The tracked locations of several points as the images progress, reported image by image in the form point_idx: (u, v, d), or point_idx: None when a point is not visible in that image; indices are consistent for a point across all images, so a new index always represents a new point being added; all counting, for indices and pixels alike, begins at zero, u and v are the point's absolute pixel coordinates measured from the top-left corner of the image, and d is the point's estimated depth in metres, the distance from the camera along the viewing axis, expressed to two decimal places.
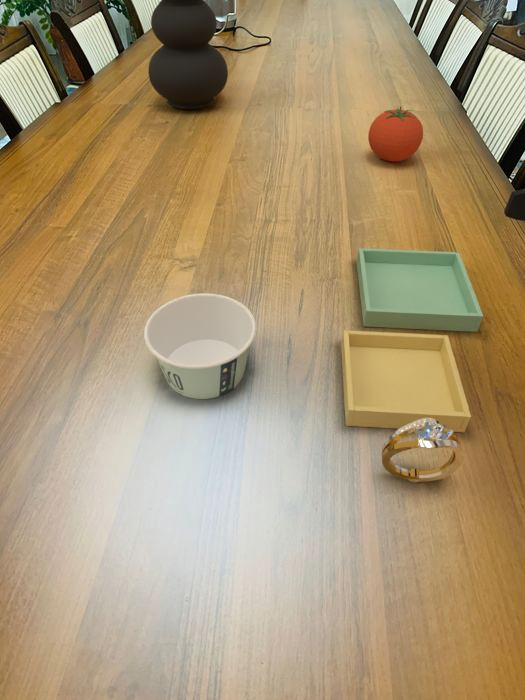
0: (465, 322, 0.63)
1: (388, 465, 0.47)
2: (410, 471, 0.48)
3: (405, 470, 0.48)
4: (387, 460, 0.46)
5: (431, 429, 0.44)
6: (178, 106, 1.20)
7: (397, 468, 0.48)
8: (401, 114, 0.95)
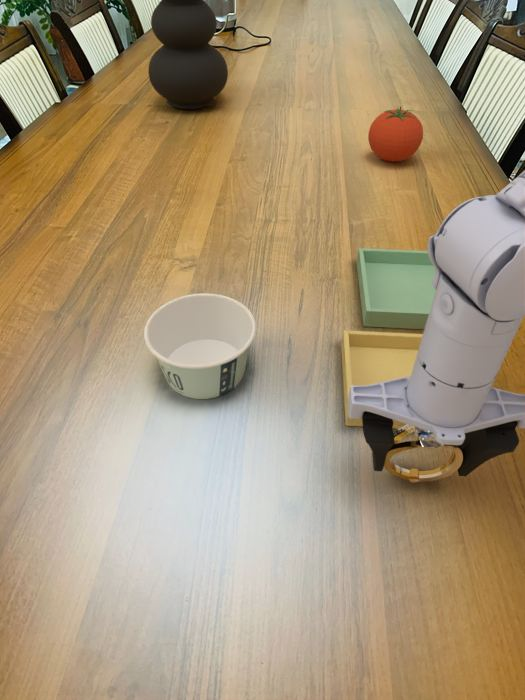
0: None
1: (388, 465, 0.47)
2: (410, 471, 0.48)
3: (405, 470, 0.48)
4: (387, 460, 0.46)
5: None
6: (178, 106, 1.20)
7: (398, 469, 0.48)
8: (401, 114, 0.95)
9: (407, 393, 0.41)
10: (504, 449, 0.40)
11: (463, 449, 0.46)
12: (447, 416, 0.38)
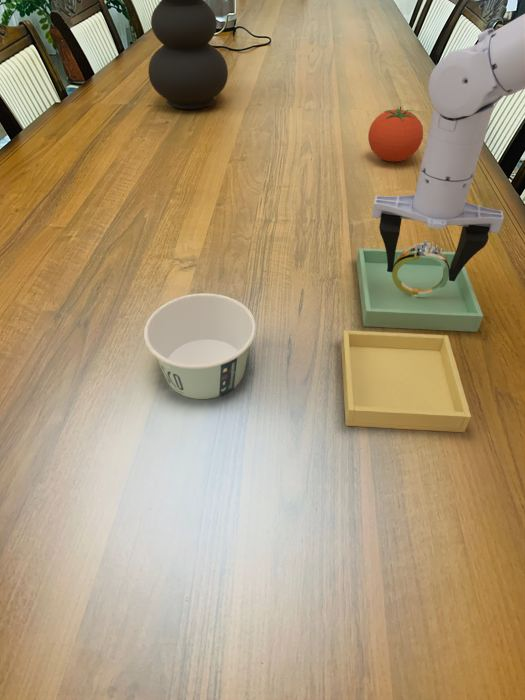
0: (465, 322, 0.63)
1: (396, 279, 0.67)
2: (412, 289, 0.68)
3: (409, 288, 0.68)
4: (395, 273, 0.66)
5: (427, 247, 0.63)
6: (178, 106, 1.20)
7: (403, 285, 0.68)
8: (401, 114, 0.95)
9: (413, 200, 0.59)
10: (476, 243, 0.58)
11: (454, 260, 0.64)
12: (436, 207, 0.56)
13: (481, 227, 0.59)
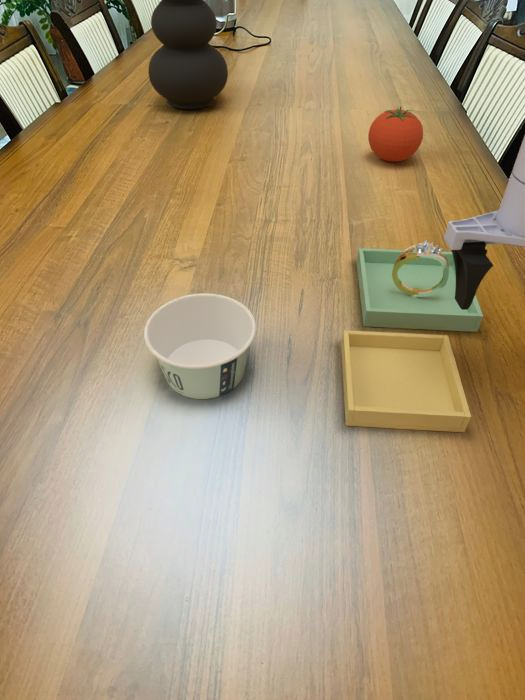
0: (465, 322, 0.63)
1: (396, 279, 0.67)
2: (412, 289, 0.68)
3: (409, 288, 0.68)
4: (395, 274, 0.66)
5: None
6: (178, 106, 1.20)
7: (403, 285, 0.68)
8: (401, 114, 0.95)
9: (500, 220, 0.46)
10: None
11: None
12: None
13: None
